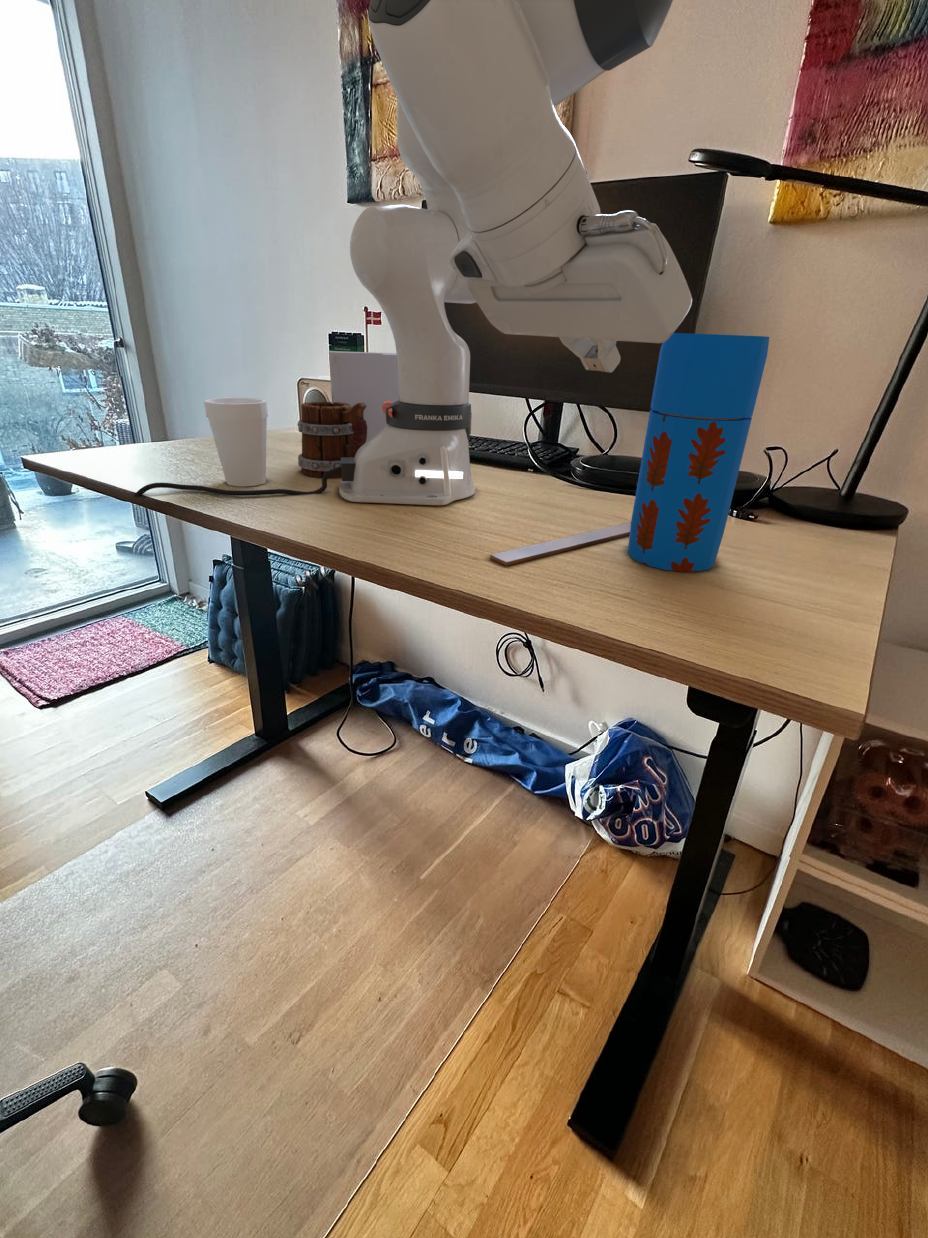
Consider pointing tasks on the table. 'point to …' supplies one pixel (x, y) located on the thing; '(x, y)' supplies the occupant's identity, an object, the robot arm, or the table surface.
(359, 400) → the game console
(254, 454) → the foam cup
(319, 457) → the mug
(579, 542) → the ruler
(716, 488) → the thermos
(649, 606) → the table surface
